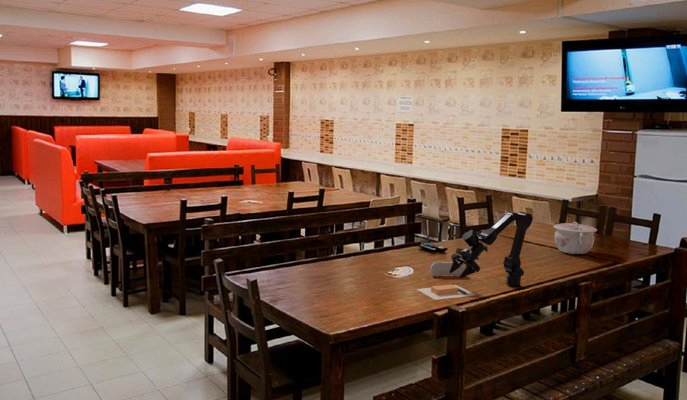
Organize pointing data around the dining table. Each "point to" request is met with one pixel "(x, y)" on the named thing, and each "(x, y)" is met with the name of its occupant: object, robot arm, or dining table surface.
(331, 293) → the dining table surface
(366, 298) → the dining table surface
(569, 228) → the chamber pot
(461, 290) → the long brown bar
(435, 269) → the grey rounded panel
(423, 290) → the mat
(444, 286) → the orange block
